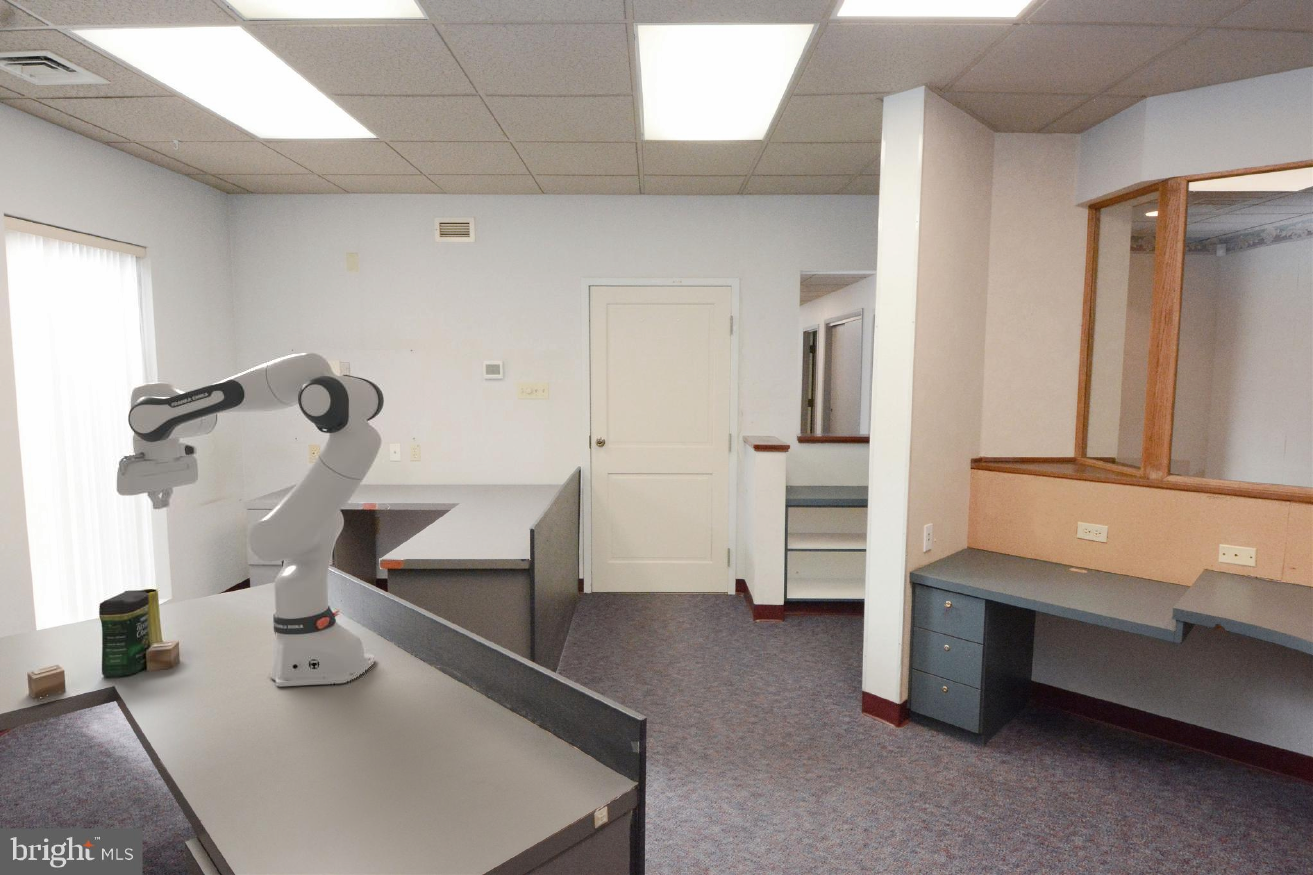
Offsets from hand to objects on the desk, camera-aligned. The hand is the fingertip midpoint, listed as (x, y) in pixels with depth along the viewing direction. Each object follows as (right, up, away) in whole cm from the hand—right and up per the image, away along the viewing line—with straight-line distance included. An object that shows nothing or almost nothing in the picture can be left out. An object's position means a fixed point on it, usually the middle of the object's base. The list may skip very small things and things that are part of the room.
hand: (161, 508), depth 157 cm
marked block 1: (-15, -39, -14) cm, 44 cm away
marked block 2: (0, -38, +1) cm, 38 cm away
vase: (-13, -37, +13) cm, 41 cm away
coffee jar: (-6, -38, -2) cm, 39 cm away
